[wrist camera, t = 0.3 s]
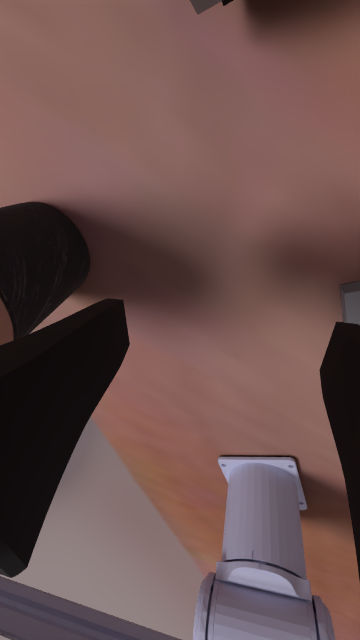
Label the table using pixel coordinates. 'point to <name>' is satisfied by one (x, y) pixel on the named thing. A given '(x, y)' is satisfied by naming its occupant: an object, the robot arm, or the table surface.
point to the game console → (206, 4)
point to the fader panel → (350, 302)
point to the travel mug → (36, 265)
